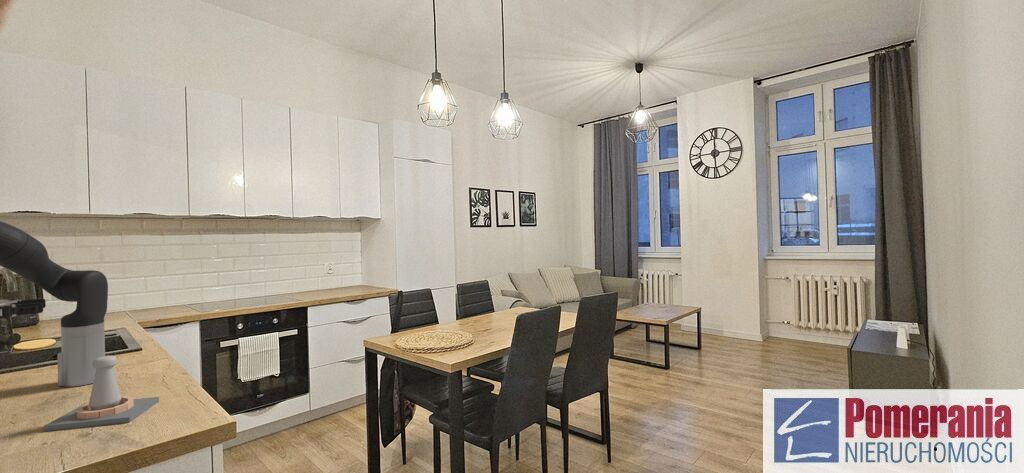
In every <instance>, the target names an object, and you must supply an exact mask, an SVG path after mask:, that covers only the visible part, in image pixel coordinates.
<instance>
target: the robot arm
mask: <svg viewBox="0 0 1024 473" xmlns="http://www.w3.org/2000/svg"><path fill="white" fill-rule="evenodd" d="M0 267H2V268H3V269H6V270H8V271H11V272H12V273H13V274H16V275H18V276H20V277H21V278H24V279H26V280H28V281H30V282H32V283H33V284H35V285H36V286H38V287H40V288H41V289H42V290H43V291H45V292H46V293H48V294H50V295H51V296H53V298H56V299H57V300H59V301H63V302H68V303H69V302H71V303H72V302H75V303H76V307H75V310H74V311H72V312H70V313H69V314H65V315H63V316H62V317H61V318H60V338H61V340H60V341H61V343H60V344H61V346H60V348H61V349H60V350H61V351H60V352H59V353H57V386H58V387H68V388H69V387H79V386H86V385H91V384H93V382H94V377H95V372H96V369H95V368H93V365H92V364H93V360H94V359H96V358H99V357H102V356H106V343H105V342H106V341H105V340H106V339H105V334H106V333H105V316H106V314H107V311H108V298H109V297H108V296H109V295H108V294H109V283H108V279H107V277H106V275H105V274H104V273H103V272H101V271H100V270H89V269H88V270H87V269H86V270H73V269H69V268H66V267H64V266H62V265H59V264H58V263H56V262H54V261H53V260H51V259H50V258H49V253H48V250H47V247H45V245H44V243H42V242H41V241H40V240H38V239H37V238H35V237H33V236H32V235H31V234H29V233H27V232H26V231H23V230H22V229H20V228H18V227H16V226H14V225H12V224H9V223H6V222H4V221H1V220H0ZM46 301H47V300H46V299H45V298H35V299H34V298H33V299H23V300H21V299H18V298H12V299H0V320H3V319H5V320H7V319H11V318H14V317H17V316H22V315H25V316H26V315H33V314H34V315H35V314H42V313H43V312H44V309H45V308H46Z"/></svg>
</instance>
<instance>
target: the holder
mask: <svg viewBox="0 0 1024 473" xmlns="http://www.w3.org/2000/svg"><path fill="white" fill-rule="evenodd" d="M159 402H160V397H159V396H154V397H153V396H151V397H144V398H134V397H133V396H128V395H121V401H120V403H119V405H118V406H115V407H112V408H108V409H103V410H96V411H92V410H91V408H90V407H89V402H88V403H84V404H81V405H80V406H77V407H76V408H74V409H72V410H71V411H68V412H67V413H65V414H63V415H61V416H60V417H58V418H56V419H55V420H52V421H51V422H50V421H49V423H47V424H45V425H44V426H43V427H44V428H43V429H44V432H50V431H59V430H61V431H62V430H67V429H77V428H78V429H79V428H88V427H97V426H108V425H119V424H126V423H128V424H129V423H131V422H132V421H133V420H135V419H137V418H138V417H139V416H140V415H142V414H143V413H145V412H146V411H148V410H149V409H151V408H152V407H154V406H155V405H156V404H158V403H159Z"/></svg>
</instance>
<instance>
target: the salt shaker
mask: <svg viewBox="0 0 1024 473" xmlns="http://www.w3.org/2000/svg"><path fill="white" fill-rule="evenodd" d="M117 364H118V363H117V357H116V356H114V355H105V356H102V357H99V358H96V359H94V360H93V364H92V365H93V368H95V369H96V372H95V377H94V382H93V383H92V387H91V392H90V396H89V402H88V403H89V407H90V408H91V410H92V411H96V410H103V409H108V408H112V407H115V406H118V405H119V403H120V401H121V396H122V394H121V391H120V390H121V389H120V387H119V383H118V380H117V379H118V378H117V374H116V372H115V367H114V366H116V365H117Z"/></svg>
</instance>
